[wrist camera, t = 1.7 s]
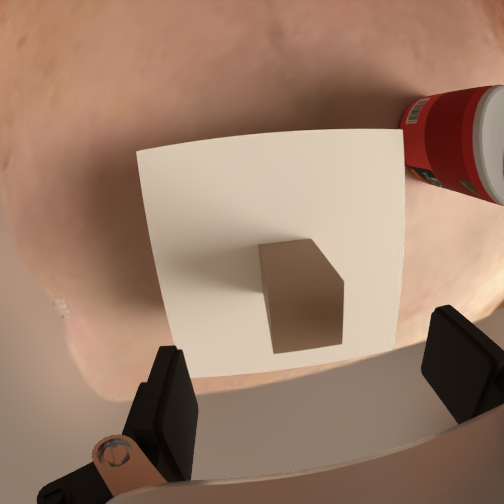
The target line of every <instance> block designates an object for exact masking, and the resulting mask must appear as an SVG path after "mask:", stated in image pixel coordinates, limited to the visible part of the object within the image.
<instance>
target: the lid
mask: <svg viewBox="0 0 504 504" xmlns="http://www.w3.org/2000/svg"><path fill="white" fill-rule="evenodd" d="M136 154H137V161H138V169H139V176H140V183H141V189H142V196H143V202H144V208H145V214H146V220H147V225H148V231H149V236H150V241H151V246H152V252H153V256H154V261H155V266H156V271H157V275H158V280H159V284H160V289H161V293H162V298H163V302H164V306H165V310H166V314H167V318H168V322H169V326H170V330H171V334H172V338H173V341H174V345H175V346H176V347H177V349H182V350H183V353H184V357H185V361H186V364H187V368H188V372H189V375H190V378H197V377H213V376H227V375H239V374H249V373H259V372H268V371H276V370H284V369H292V368H299V367H306V366H312V365H318V364H325V363H331V362H336V361H342V360H347V359H353V358H358V357H363V356H368V355H372V354H377V353H382V352H386V351H391V350H393V347H394V341H395V334H396V327H397V320H398V312H399V303H400V294H401V283H402V271H403V256H404V236H405V163H404V144H403V130H400V129H326V130H303V131H287V132H273V133H261V134H250V135H240V136H231V137H223V138H215V139H207V140H200V141H193V142H186V143H180V144H174V145H168V146H162V147H156V148H151V149H145V150H140V151H136Z"/></svg>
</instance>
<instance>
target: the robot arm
mask: <svg viewBox="0 0 504 504" xmlns="http://www.w3.org/2000/svg"><path fill="white" fill-rule="evenodd" d="M421 371H422V374H423V376H424V378H425V379H426V380H427V382H428V383H429V384H430V386H431V387H432V388H433V389H434V391H435V392H436V394H437V395H438V396H439V398H440V399H441V401H442V402H443V403H444V405H445V406H446V407H447V409H448V410H449V412H450V413H451V415H452V416H453V417H454V419H455V420H456V422H457V423H458V425H457V426H455V427H452V428H450V429H447V430H445V431H442V432H440V433H437V434H434V435H432V436H429V437H426V438H424V439H421V440H418V441H415V442H413V443H409V444H406V445H404V446H400V447H397V448H394V449H391V450H387V451H384V452H381V453H377V454H374V455H370V456H366V457H362V458H359V459H354V460H350V461H346V462H342V463H337V464H332V465H327V466H322V467H317V468H312V469H306V470H300V471H294V472H286V473H279V474H271V475H262V476H253V477H242V478H229V479H211V480H194V481H191V473H192V464H193V454H194V445H195V436H196V428H197V419H198V404H197V400H196V397H195V393H194V390H193V386H192V383H191V379H190V375H189V372H188V368H187V364H186V361H185V357H184V353H183V350H182V349H177V347H176V346H175V345H174V346H160V347H159V350H158V352H157V355H156V358H155V361H154V364H153V366H152V369H151V372H150V375H149V378H148V381H147V382H142V383H140V385H139V387H138V390H137V393H136V395H135V398H134V401H133V404H132V406H131V410H130V412H129V415H128V418H127V421H126V424H125V427H124V429H123V432H122V435H111V436H108V437H105V438H104V439H102V440H100V441H99V442H98V443H97V444H96V445H95V447H94V449H93V451H92V459H93V462H91V463H89V464H87V465H85V466H84V467H81V468H79V469H78V470H76V471H74V472H72V473H70V474H68V475H66V476H63V477H62V478H59V479H57V480H55V481H53V482H51V483H49V484H47V485H46V486H44V487H43V488H42V489H41V490H40V491H39V494H38V496H37V504H504V351H503V350H502V349H501V348H500V347H499V346H498V345H497V344H496V343H494V342H493V341H492V340H491V339H490V338H489V337H488V336H486V335H485V334H484V333H483V332H482V331H481V330H479V329H478V328H477V327H476V326H475V325H474V324H472V323H471V322H470V321H469V320H468V319H467V318H465V317H464V316H463V315H462V314H461V313H459V312H458V311H457V310H456V309H454V308H453V307H452V306H451V305H444V306H440V307H437V308H436V309H435V310H434V312H433V313H432V315H431V320H430V326H429V331H428V337H427V342H426V347H425V352H424V356H423V361H422V365H421Z"/></svg>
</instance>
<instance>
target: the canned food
mask: <svg viewBox="0 0 504 504" xmlns="http://www.w3.org/2000/svg"><path fill="white" fill-rule="evenodd" d="M398 129H400V130H403V144H404V163H405V164H406V166H407V167H408V169H409V170H410V171H411V172H412V173H413V174H414V175H415V176H416V177H417V178H419V179H420V180H421V181H423V182H425V183H428V184H431V185H435V186H438V187H442V188H445V189H449V190H452V191H456V192H459V193H463V194H466V195H469V196H472V197H476V198H479V199H482V200H485V201H488V202H491V203H495V204H498V205H501V206H504V85H494V86H484V87H477V88H471V89H464V90H459V91H453V92H447V93H442V94H437V95H432V96H427V97H422V98H420V99H418V100H416V101H414V102H413V103H412V104H411V105H410V106H409V107H408V108H407V109H406V111H405V112H404V114H403V115H402V118H401V120H400V123H399V128H398Z"/></svg>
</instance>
